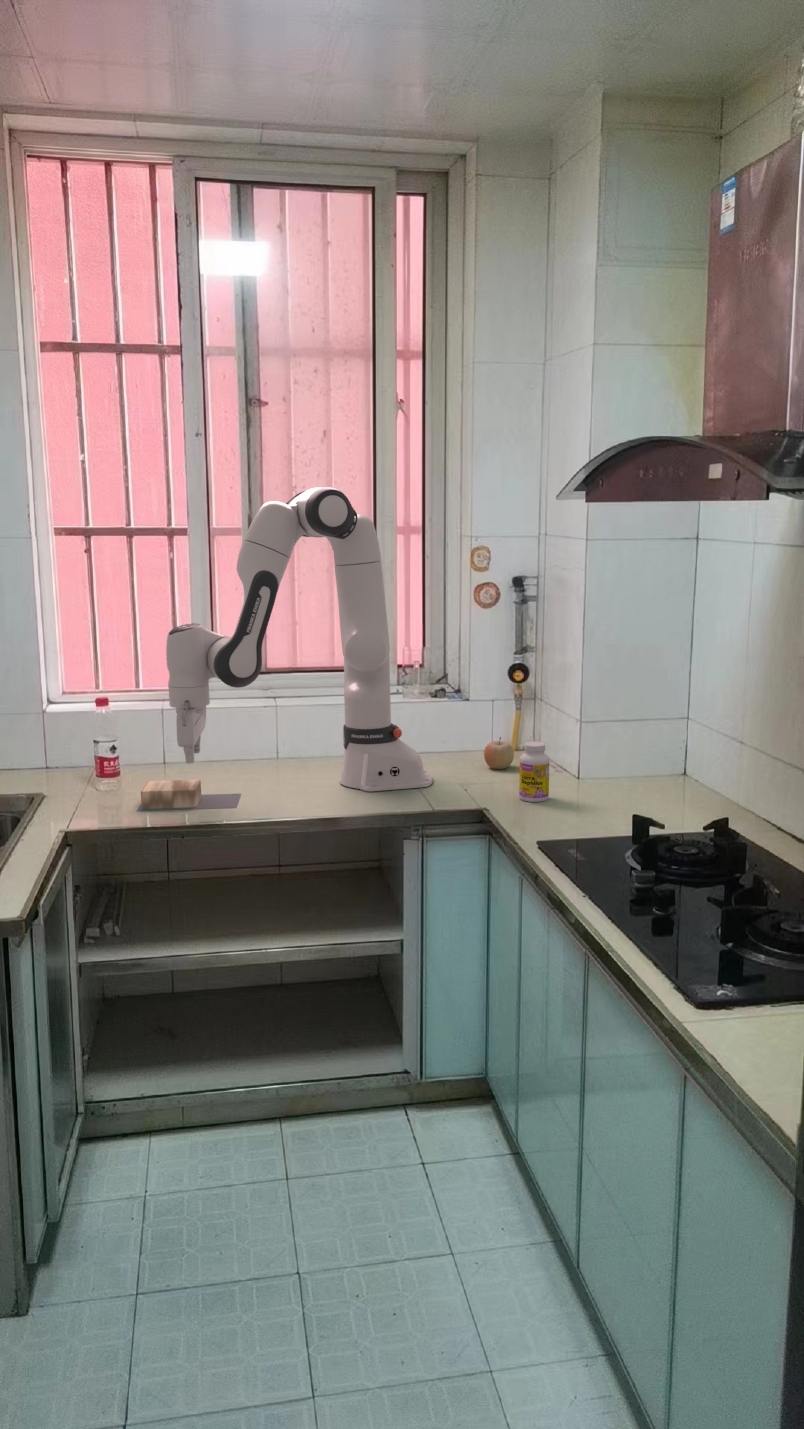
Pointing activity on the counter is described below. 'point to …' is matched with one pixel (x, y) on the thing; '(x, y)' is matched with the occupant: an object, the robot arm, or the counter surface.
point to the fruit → (498, 754)
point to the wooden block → (171, 794)
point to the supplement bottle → (534, 773)
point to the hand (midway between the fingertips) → (193, 757)
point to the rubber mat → (208, 802)
